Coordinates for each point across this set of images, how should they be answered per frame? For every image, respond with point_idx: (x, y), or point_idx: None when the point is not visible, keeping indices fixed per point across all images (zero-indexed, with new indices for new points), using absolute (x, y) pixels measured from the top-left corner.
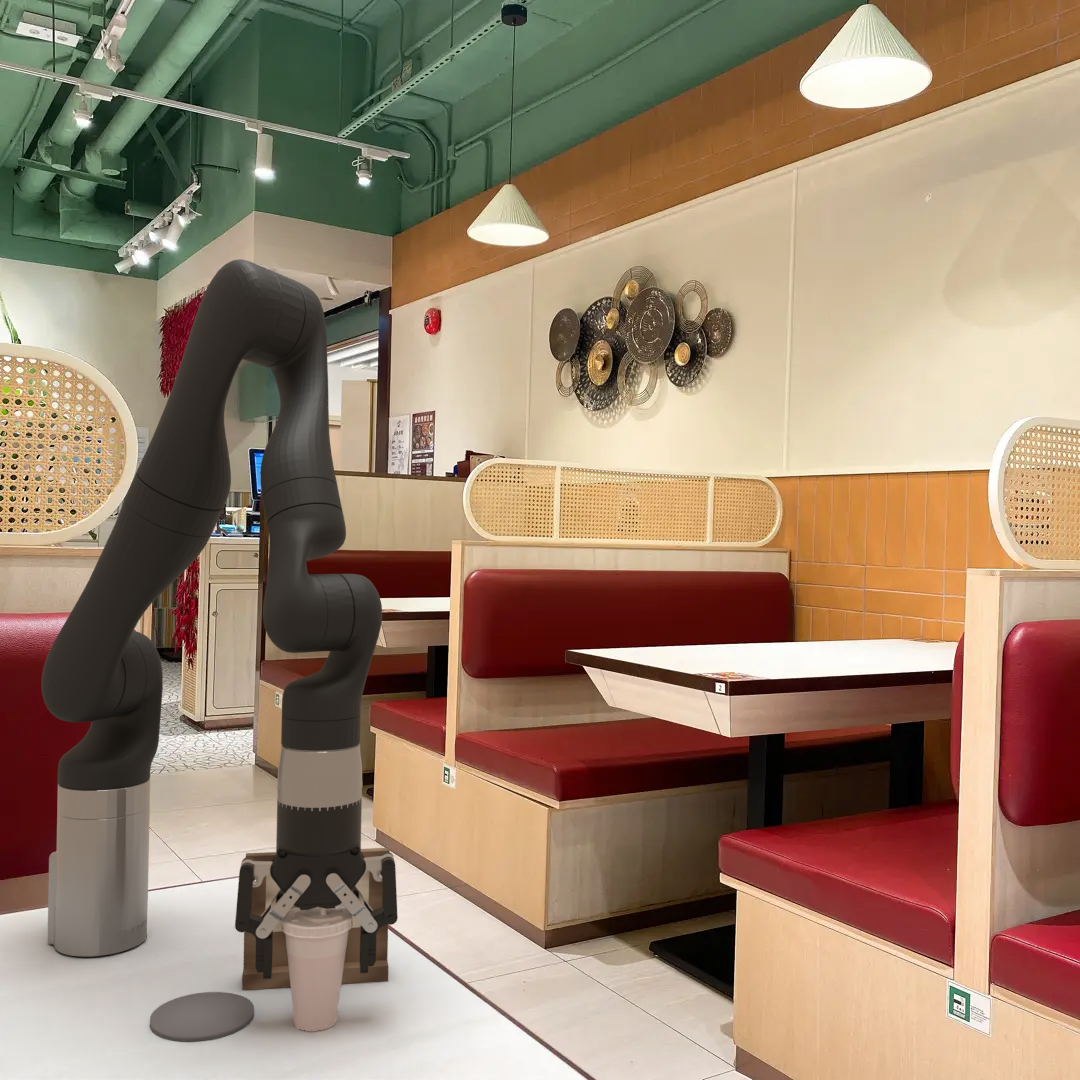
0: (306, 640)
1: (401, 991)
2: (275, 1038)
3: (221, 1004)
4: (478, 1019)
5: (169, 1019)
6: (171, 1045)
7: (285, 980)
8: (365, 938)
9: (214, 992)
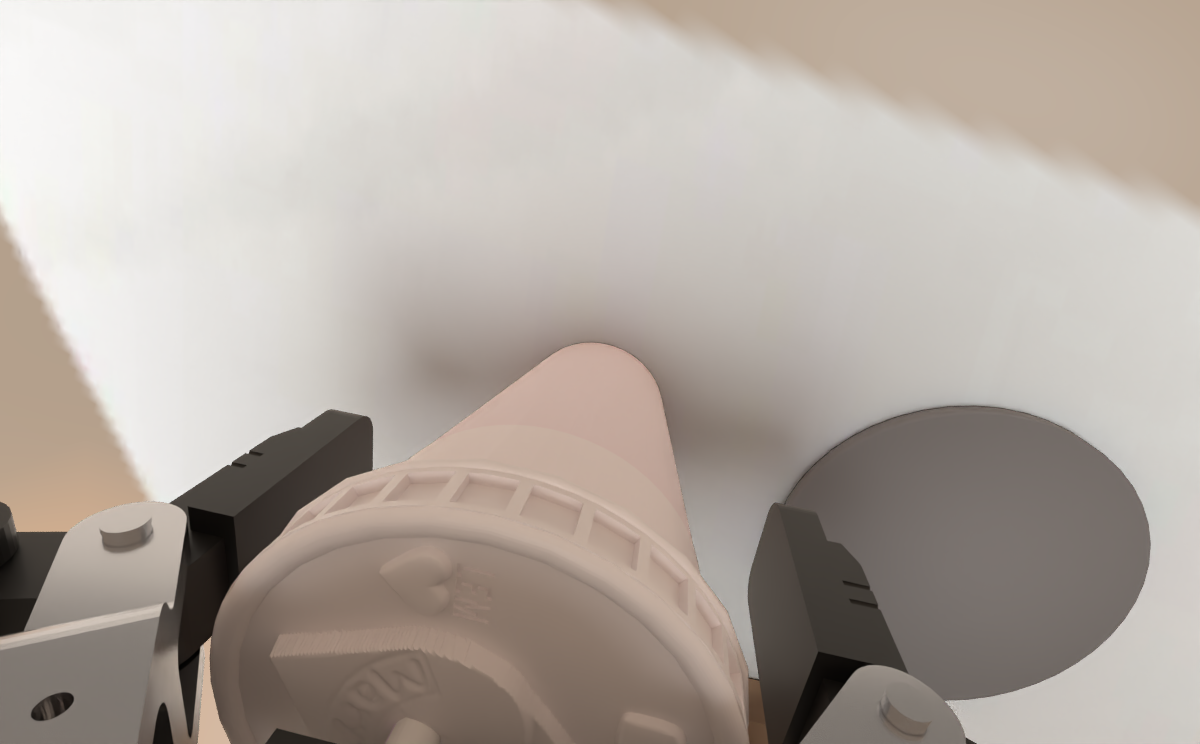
0: None
1: None
2: (743, 340)
3: None
4: (90, 247)
5: (1075, 566)
6: (1106, 412)
7: None
8: (230, 496)
9: None
